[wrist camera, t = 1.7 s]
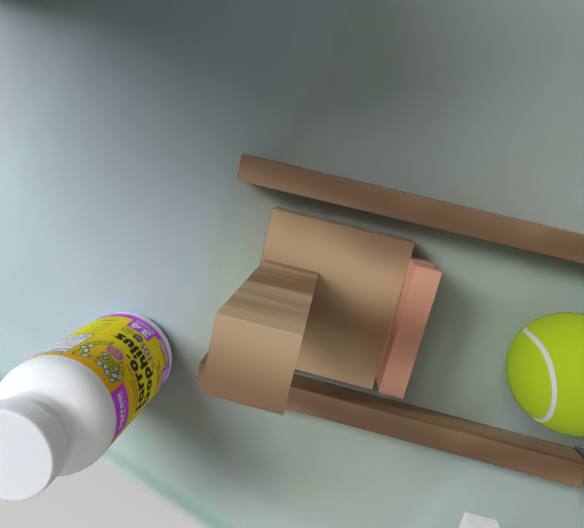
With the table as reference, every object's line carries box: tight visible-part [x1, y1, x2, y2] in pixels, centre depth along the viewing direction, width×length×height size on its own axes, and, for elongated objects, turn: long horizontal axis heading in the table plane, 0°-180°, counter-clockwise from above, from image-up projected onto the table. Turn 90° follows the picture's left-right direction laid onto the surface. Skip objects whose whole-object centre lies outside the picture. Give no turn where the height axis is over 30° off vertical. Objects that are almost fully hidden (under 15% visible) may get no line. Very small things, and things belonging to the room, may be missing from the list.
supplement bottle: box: [0, 312, 172, 501], centre depth 27 cm, size 7×7×13 cm
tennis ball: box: [506, 313, 584, 437], centre depth 27 cm, size 7×7×7 cm
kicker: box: [200, 207, 442, 415], centre depth 24 cm, size 10×10×13 cm
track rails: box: [196, 154, 584, 488], centre depth 30 cm, size 16×26×2 cm, turn 77°
